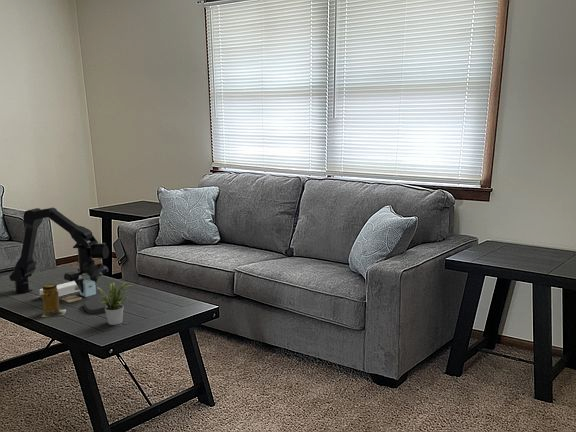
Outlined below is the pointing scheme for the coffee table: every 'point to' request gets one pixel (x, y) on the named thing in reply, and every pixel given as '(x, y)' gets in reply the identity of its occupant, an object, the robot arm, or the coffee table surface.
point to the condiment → (51, 301)
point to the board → (71, 298)
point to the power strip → (61, 289)
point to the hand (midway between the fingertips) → (87, 291)
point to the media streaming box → (96, 305)
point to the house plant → (114, 304)
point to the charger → (88, 288)
